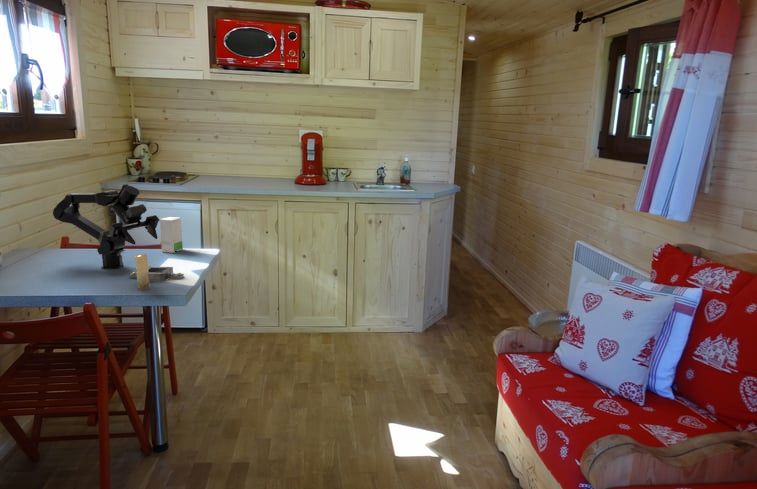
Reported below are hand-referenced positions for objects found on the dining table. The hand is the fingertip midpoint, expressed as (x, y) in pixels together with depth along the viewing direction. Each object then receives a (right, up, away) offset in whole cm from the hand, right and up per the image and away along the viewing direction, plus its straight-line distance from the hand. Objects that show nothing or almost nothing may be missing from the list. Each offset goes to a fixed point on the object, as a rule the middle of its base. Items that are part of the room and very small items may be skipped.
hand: (146, 240), depth 201 cm
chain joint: (+3, -14, +2) cm, 15 cm away
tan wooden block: (+4, -18, -11) cm, 21 cm away
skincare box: (-6, -5, +41) cm, 42 cm away
